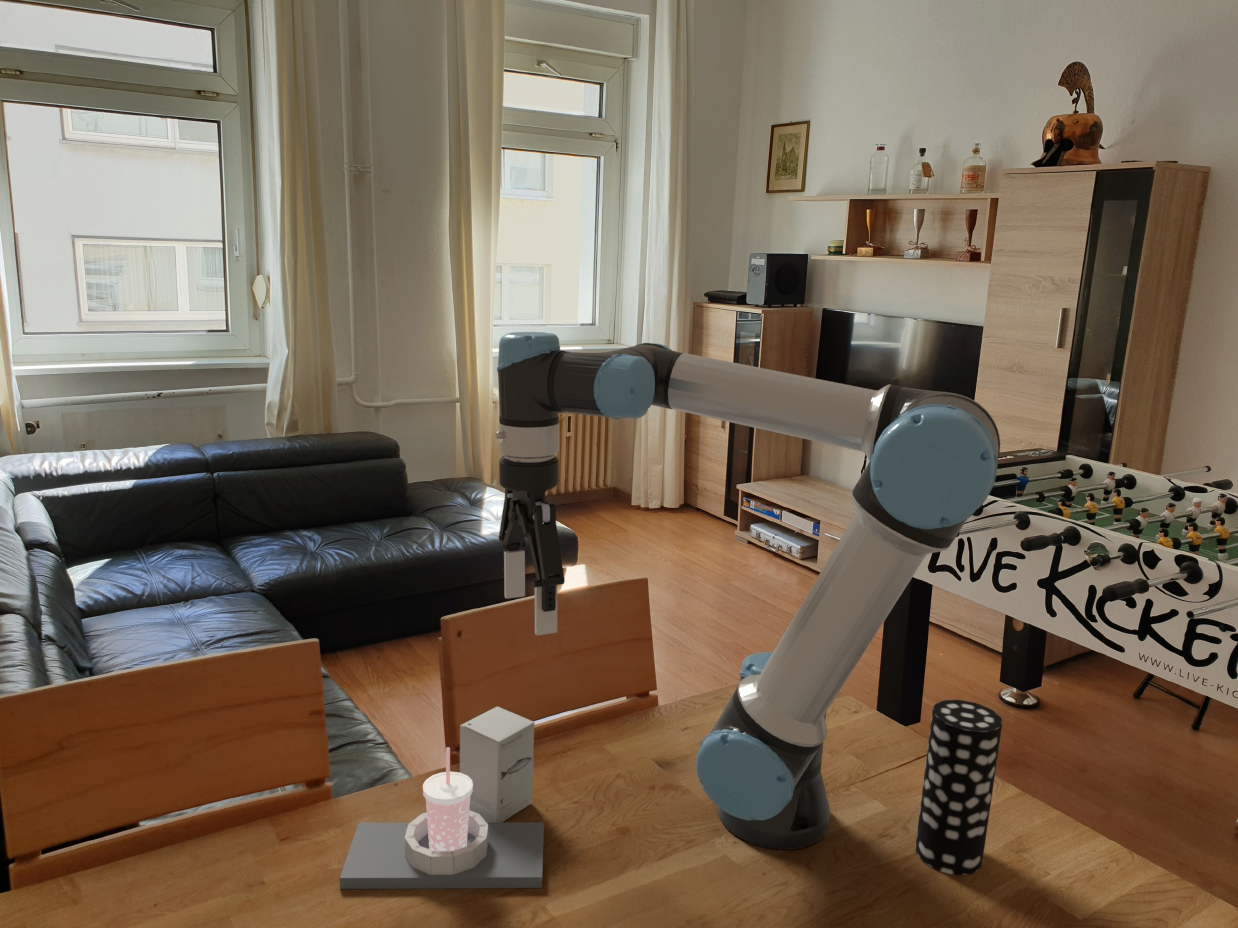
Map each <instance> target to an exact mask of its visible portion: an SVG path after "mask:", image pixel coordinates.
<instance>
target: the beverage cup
mask: <svg viewBox="0 0 1238 928" xmlns="http://www.w3.org/2000/svg"><path fill="white" fill-rule="evenodd" d="M472 788H473V782H472V780H471V779H470V778H469V777H468V776H467V775H465V774H462V773H460V771H459V772H457V771H451V748H450V747H449V746H447V747H446V748H445V771H442V772H438V773H436V774H435V773H434V774H433V775H431V776H430V777H428V778H426V779H425V781H424V782H423V784H422V795H423V796H422V797H424V799H425V807H426V810H425V811H426V812H427V824H428V837H429V850H432V851H454V850H457V849H460V848H463V847H466V846H467V835H468V821H469V808H470V795H471V794H472V792H473V790H472Z"/></svg>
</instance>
